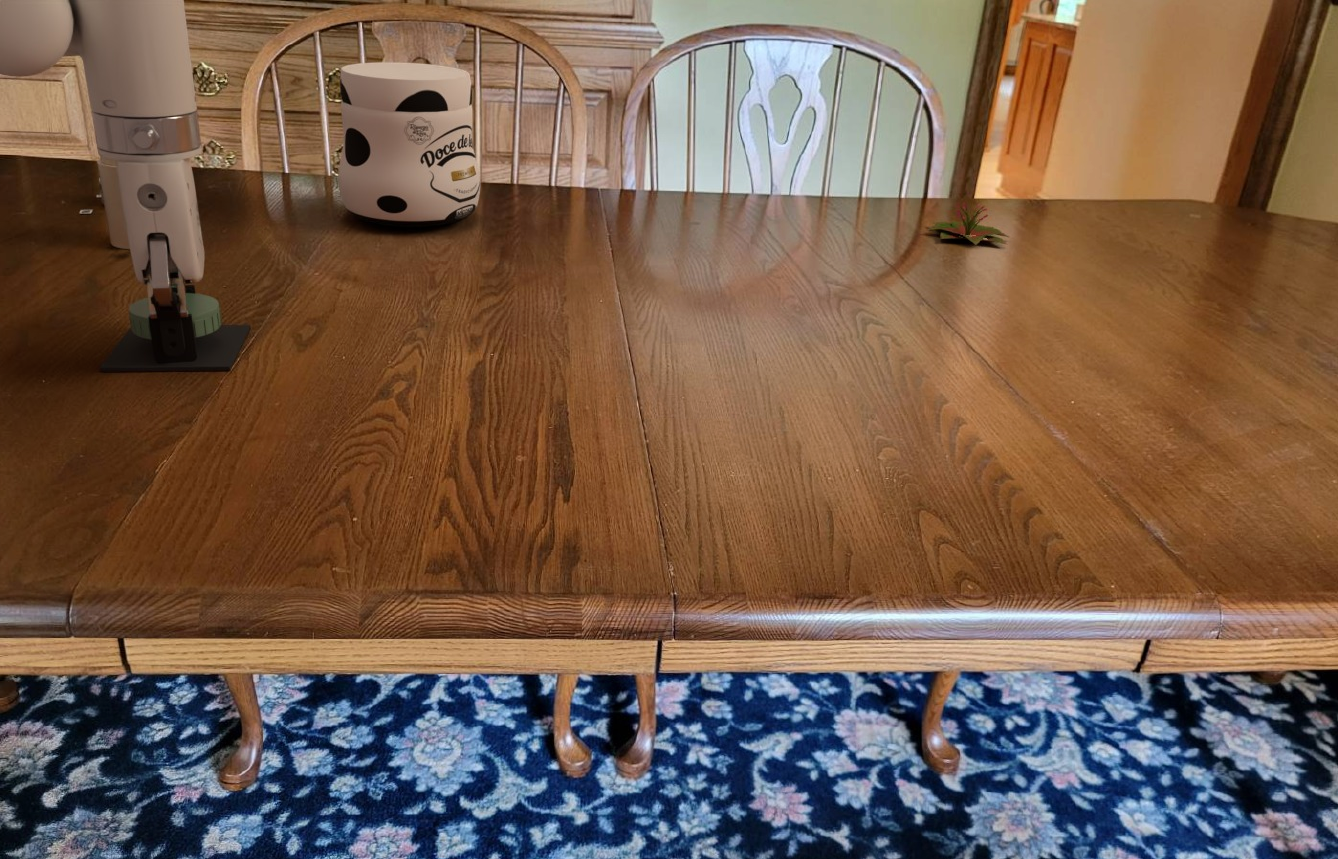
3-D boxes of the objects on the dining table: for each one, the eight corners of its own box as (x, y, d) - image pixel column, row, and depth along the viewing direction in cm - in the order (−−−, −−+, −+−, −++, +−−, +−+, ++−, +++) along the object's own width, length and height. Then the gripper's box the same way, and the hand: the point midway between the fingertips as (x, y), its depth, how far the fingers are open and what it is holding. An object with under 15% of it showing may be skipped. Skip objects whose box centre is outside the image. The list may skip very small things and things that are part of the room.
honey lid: (228, 313, 94) (226, 292, 93) (212, 340, 88) (210, 319, 87) (143, 313, 93) (140, 292, 92) (121, 341, 86) (117, 319, 86)
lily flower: (1001, 230, 149) (1008, 197, 147) (1021, 253, 138) (1028, 218, 136) (916, 223, 149) (922, 190, 147) (929, 245, 139) (935, 211, 137)
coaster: (99, 372, 86) (99, 367, 85) (132, 328, 94) (132, 324, 94) (230, 370, 88) (229, 366, 87) (250, 328, 96) (250, 324, 96)
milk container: (484, 237, 128) (483, 84, 121) (336, 236, 125) (325, 78, 117) (477, 202, 144) (475, 64, 136) (345, 200, 140) (335, 58, 132)
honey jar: (103, 249, 115) (86, 150, 110) (119, 233, 120) (104, 138, 116) (166, 250, 116) (152, 152, 111) (179, 234, 121) (166, 140, 117)
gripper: (197, 156, 77) (225, 380, 85) (202, 115, 92) (226, 309, 99) (82, 157, 75) (121, 387, 82) (106, 114, 89) (138, 313, 97)
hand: (178, 343), depth 91 cm, fingers closed on honey lid, 6 cm apart
